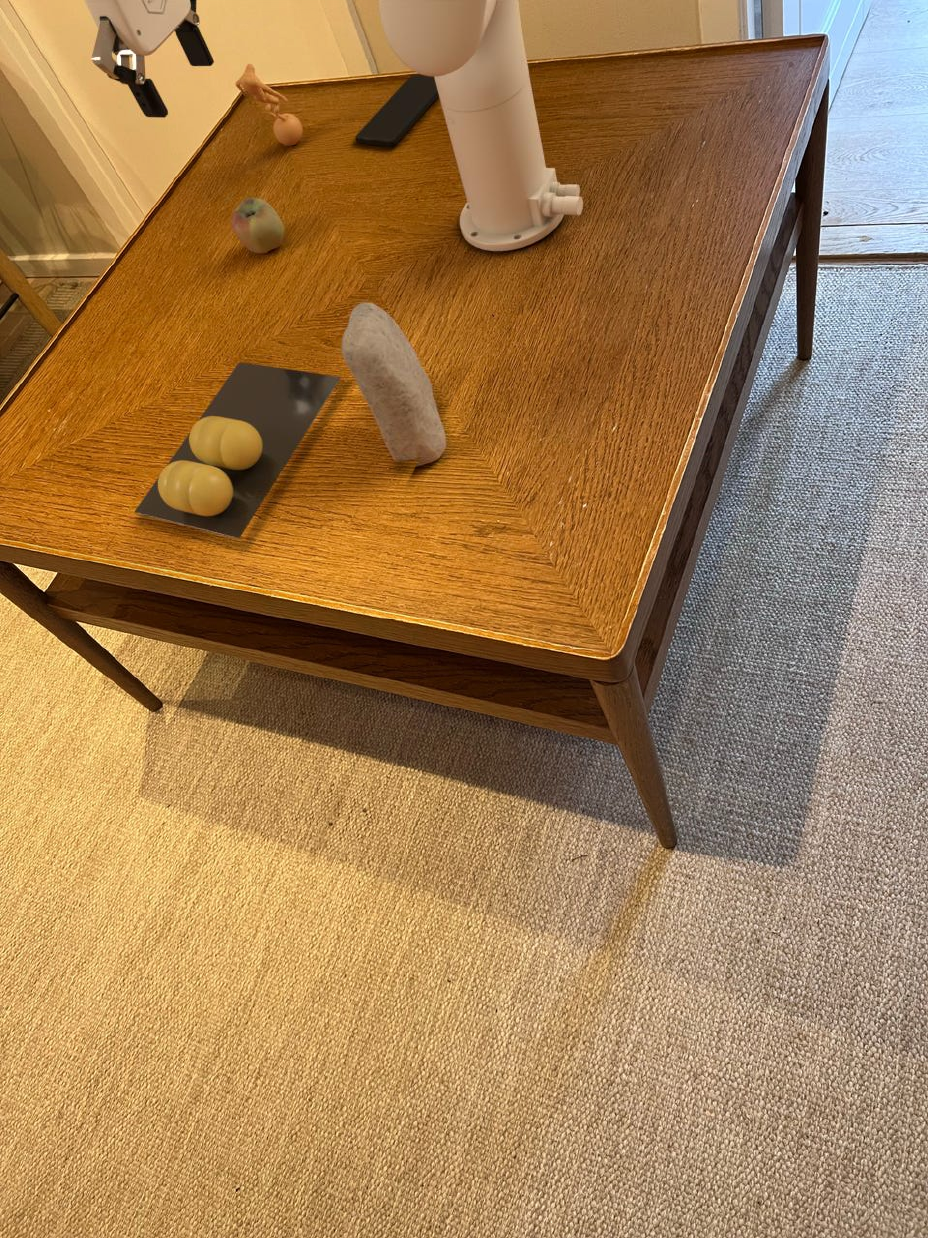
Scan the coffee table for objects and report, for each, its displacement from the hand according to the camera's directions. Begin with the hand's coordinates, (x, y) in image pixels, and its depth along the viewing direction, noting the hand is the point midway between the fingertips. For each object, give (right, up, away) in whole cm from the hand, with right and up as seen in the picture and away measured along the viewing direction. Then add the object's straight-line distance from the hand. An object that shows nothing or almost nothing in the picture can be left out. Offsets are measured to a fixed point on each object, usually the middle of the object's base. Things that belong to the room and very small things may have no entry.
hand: (180, 89), depth 103 cm
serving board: (+9, -42, -6) cm, 44 cm away
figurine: (+7, +6, +25) cm, 27 cm away
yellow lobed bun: (+8, -43, -8) cm, 45 cm away
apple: (+7, -12, +14) cm, 20 cm away
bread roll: (+6, -48, -11) cm, 50 cm away
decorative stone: (+27, -41, -10) cm, 50 cm away
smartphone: (+24, +10, +22) cm, 34 cm away
